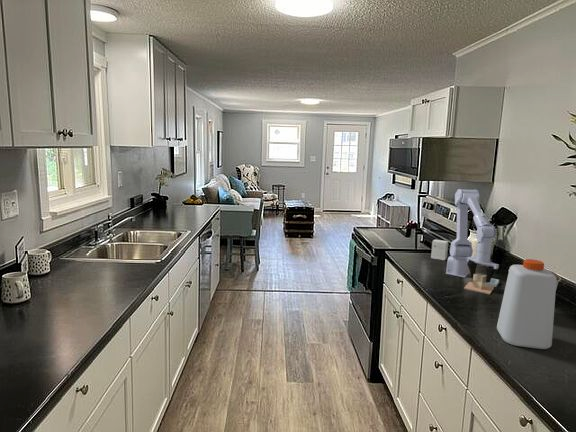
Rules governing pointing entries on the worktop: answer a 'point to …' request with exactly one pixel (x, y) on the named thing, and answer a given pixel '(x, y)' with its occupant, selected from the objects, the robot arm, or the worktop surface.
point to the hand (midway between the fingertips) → (480, 279)
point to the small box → (439, 249)
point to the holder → (493, 283)
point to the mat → (486, 290)
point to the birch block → (479, 281)
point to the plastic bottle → (528, 306)
